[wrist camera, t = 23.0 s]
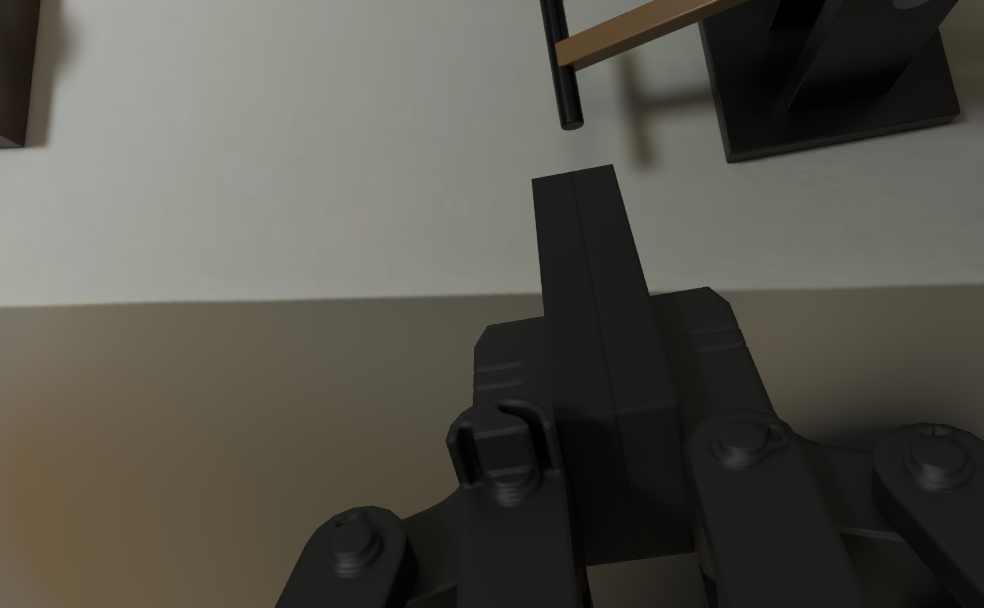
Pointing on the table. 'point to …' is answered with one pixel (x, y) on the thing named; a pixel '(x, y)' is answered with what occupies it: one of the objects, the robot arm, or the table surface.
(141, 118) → the table surface
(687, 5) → the door lever
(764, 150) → the bracket
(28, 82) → the plate
